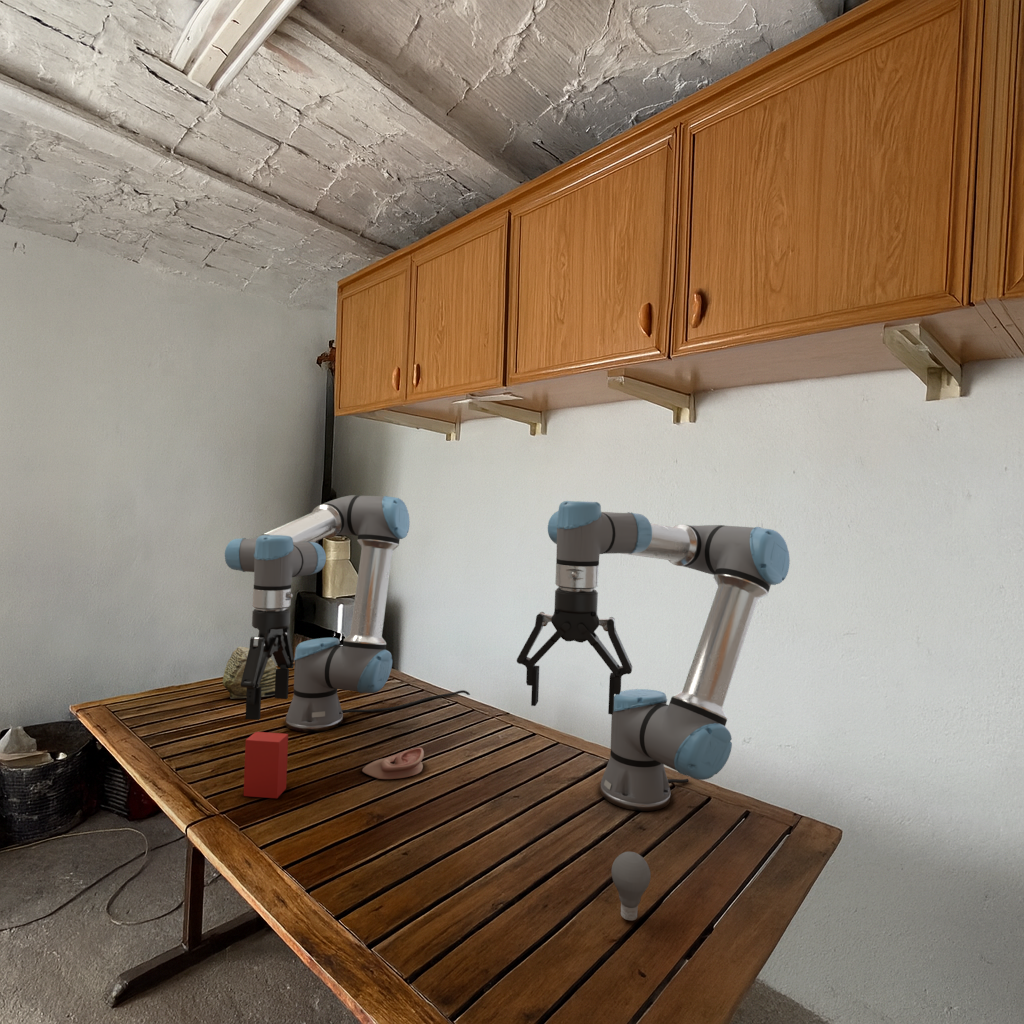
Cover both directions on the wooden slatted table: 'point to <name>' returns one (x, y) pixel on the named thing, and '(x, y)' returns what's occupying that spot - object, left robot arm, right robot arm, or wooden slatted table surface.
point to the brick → (265, 764)
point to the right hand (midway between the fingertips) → (572, 707)
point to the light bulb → (630, 881)
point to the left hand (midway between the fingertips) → (267, 708)
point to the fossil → (235, 675)
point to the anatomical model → (397, 765)
